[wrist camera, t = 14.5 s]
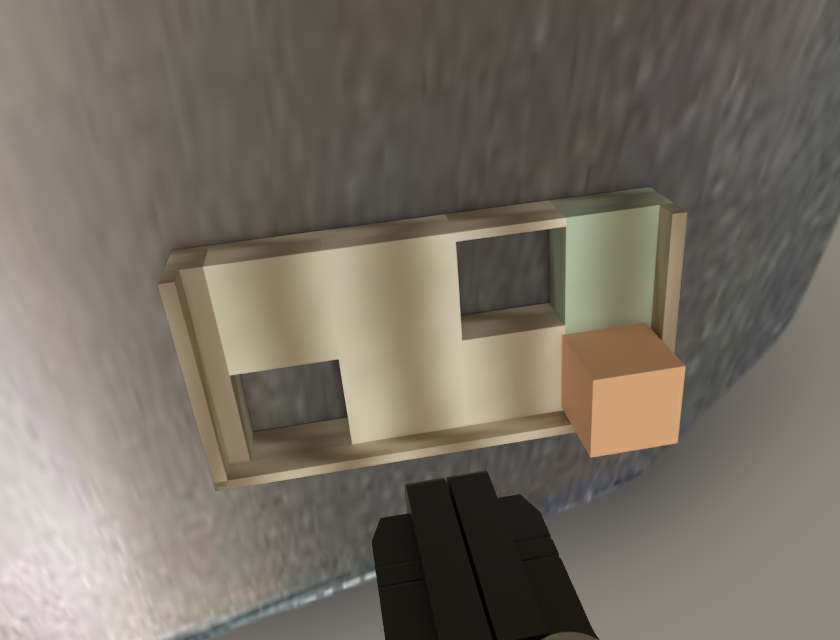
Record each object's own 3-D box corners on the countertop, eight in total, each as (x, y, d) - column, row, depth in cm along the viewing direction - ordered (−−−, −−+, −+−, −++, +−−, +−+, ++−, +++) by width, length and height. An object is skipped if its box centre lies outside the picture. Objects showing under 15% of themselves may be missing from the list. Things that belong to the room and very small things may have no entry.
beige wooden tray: (222, 443, 45) (215, 491, 41) (171, 250, 39) (157, 284, 35) (637, 377, 48) (668, 416, 44) (649, 187, 42) (687, 212, 38)
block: (561, 406, 44) (590, 457, 40) (561, 334, 42) (593, 380, 37) (639, 394, 45) (677, 443, 40) (645, 322, 42) (685, 366, 38)
